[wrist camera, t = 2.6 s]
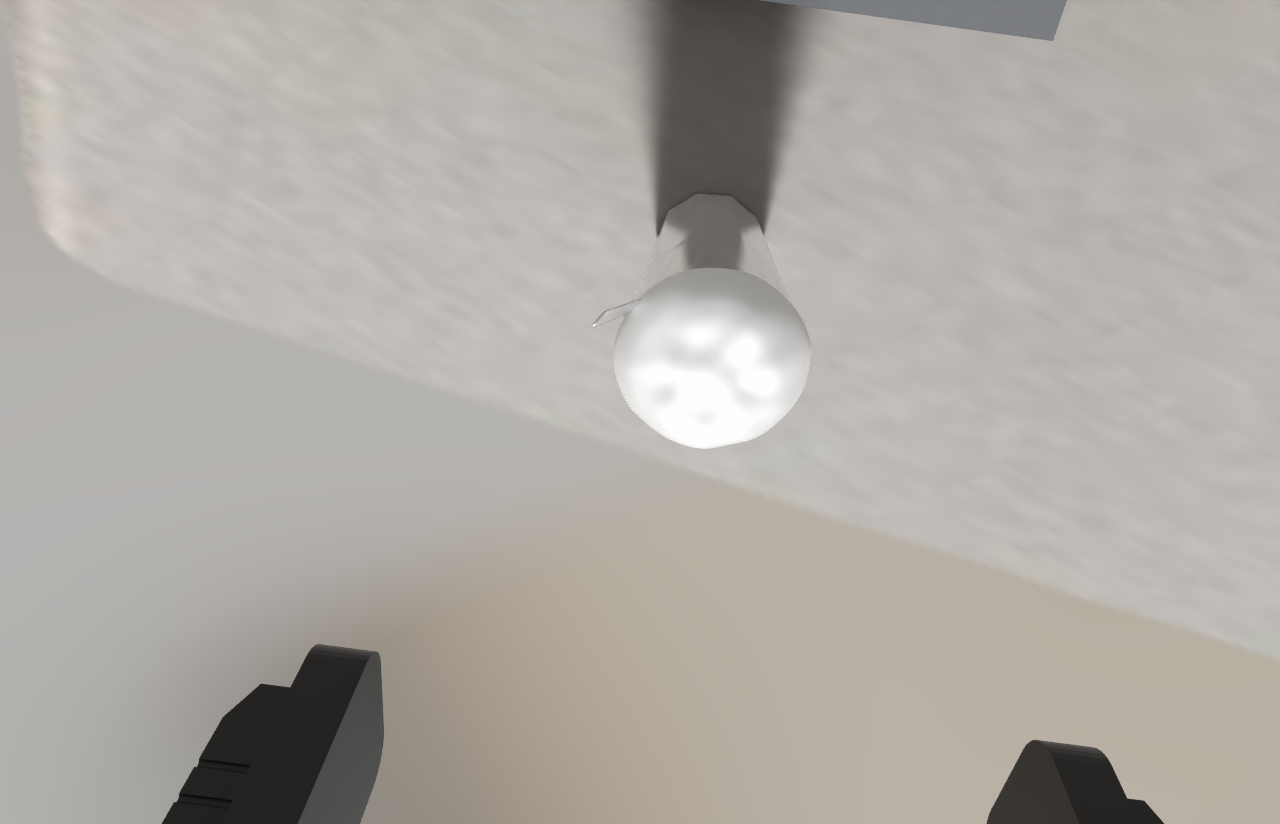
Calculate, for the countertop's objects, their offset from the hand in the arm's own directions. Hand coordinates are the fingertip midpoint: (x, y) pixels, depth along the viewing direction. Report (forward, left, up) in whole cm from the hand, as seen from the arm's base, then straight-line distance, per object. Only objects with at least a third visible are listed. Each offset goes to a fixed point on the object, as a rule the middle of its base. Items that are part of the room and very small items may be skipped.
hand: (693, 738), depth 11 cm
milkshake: (0, 0, -19) cm, 19 cm away
